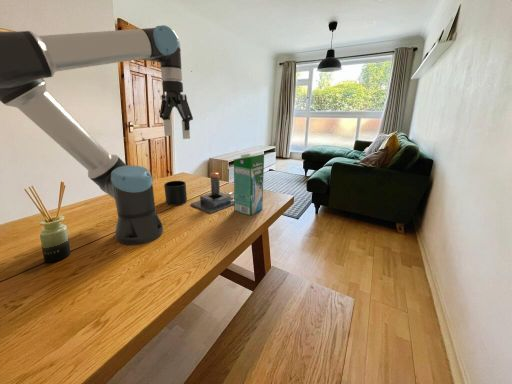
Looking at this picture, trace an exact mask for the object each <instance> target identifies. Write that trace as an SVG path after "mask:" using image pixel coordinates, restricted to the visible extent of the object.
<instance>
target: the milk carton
mask: <svg viewBox="0 0 512 384" xmlns="http://www.w3.org/2000/svg"><path fill="white" fill-rule="evenodd" d="M264 167H265V154H264V153H260V154H254V155H251V153H245V154H241V155H240V158H239V157H238V158H235V159H233V192H234V195H233V199H234V205H233V207H234V209H233V210H234V211H235V212H238V213H241V214H244V215H248V216H251V217H252V215H254V214H256V213H257V212H260V211H262V210H263V206H264V205H263V204H264V203H263V201H264V199H263V198H264V173H265V172H264V171H265V169H264Z"/></svg>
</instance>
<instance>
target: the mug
mask: <svg viewBox="0 0 512 384" xmlns="http://www.w3.org/2000/svg"><path fill="white" fill-rule="evenodd" d="M164 195H165V197H164V198H165V203H166V204H167V205H168V206H180V205H183V204H185V203H187V201H188V199H187V198H188V197H187V196H188V195H187V185H186V181H183V180H171V181H167V182H165V183H164Z"/></svg>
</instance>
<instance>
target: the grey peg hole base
mask: <svg viewBox="0 0 512 384" xmlns="http://www.w3.org/2000/svg"><path fill="white" fill-rule="evenodd" d="M232 196H234V191H231V192H229V193H223V192H221V191H220V197H219V198H216V199H214V198H212V195H211V192H210V193H206V194H204V195H200V196H199V198H200V199H199V200H198V201H195V202H191V203H190V206H191V207H194V208H196V209H199V210H200V211H203V212H205V213H208V214H213V213H216V212H218V211H221V210H224V209H226V208H227V209H228V207H229V208H230V207H232V206H234V197H232Z"/></svg>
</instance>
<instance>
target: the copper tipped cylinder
mask: <svg viewBox="0 0 512 384" xmlns="http://www.w3.org/2000/svg"><path fill="white" fill-rule="evenodd" d="M220 186H221V185H220V173H219V172H218V171H212V172H210V188H211V189H210V191H211V192H210V193H211V195H212V198H214V199H216V198H219V197H220V192H221V190H220V188H221V187H220Z"/></svg>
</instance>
